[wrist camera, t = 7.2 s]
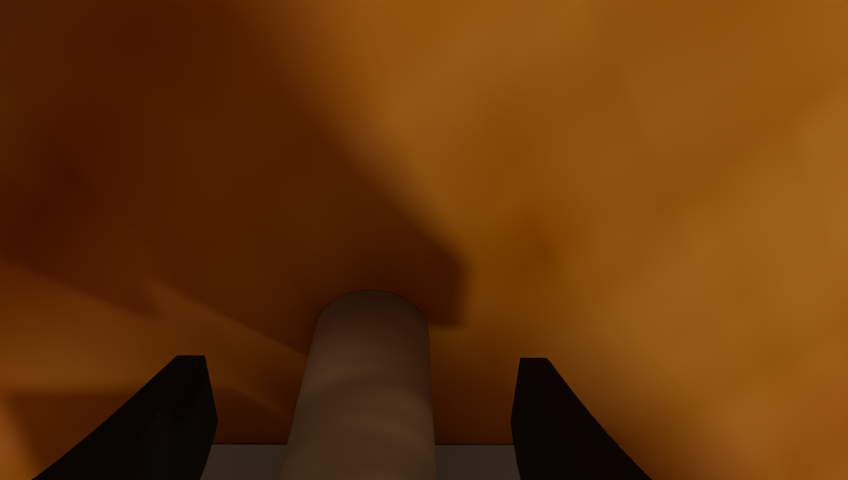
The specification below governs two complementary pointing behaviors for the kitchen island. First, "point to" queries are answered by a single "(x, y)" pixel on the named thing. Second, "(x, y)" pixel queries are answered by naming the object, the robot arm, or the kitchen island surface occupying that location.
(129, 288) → the kitchen island surface
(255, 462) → the board
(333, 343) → the leg peg
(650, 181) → the kitchen island surface
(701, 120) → the kitchen island surface
